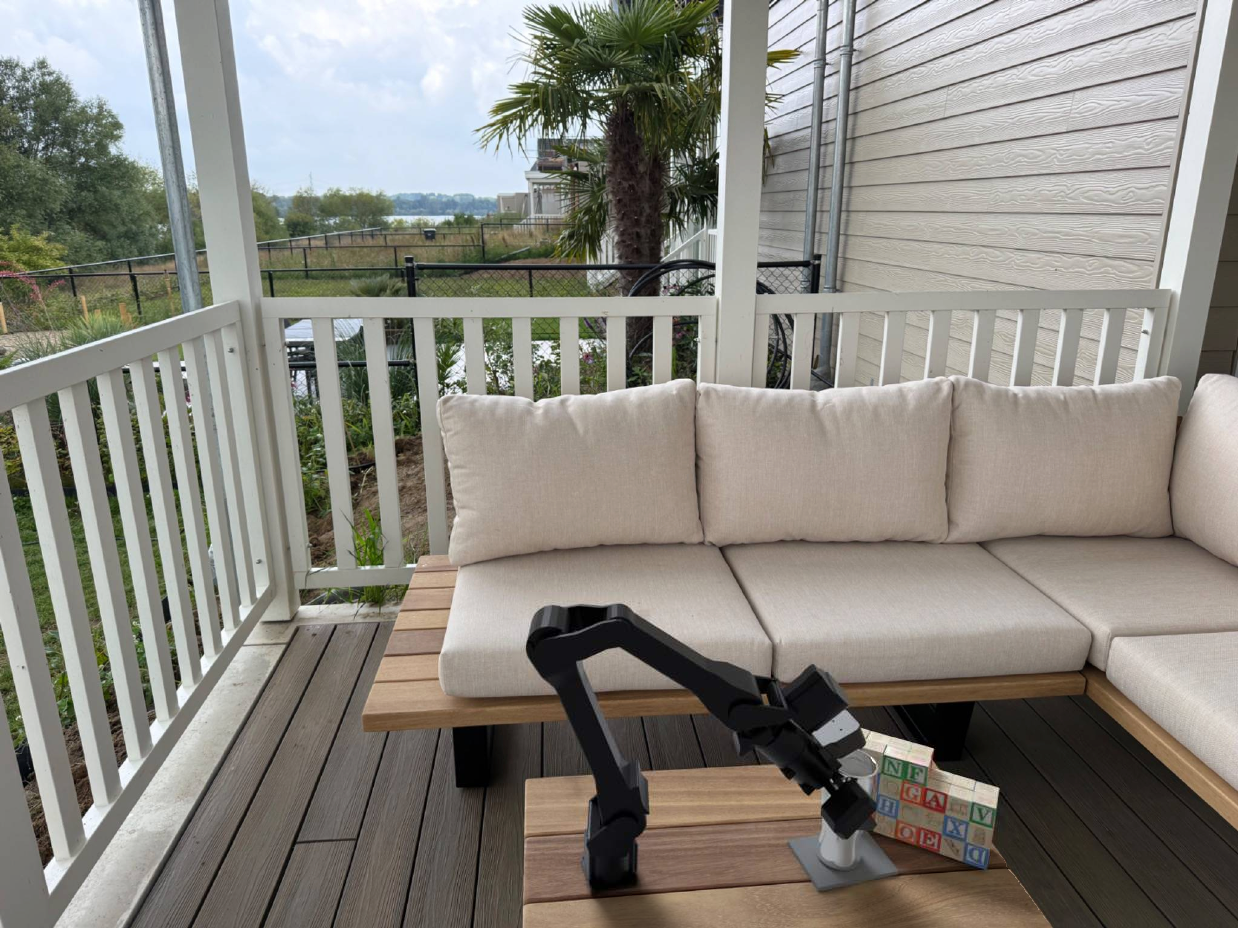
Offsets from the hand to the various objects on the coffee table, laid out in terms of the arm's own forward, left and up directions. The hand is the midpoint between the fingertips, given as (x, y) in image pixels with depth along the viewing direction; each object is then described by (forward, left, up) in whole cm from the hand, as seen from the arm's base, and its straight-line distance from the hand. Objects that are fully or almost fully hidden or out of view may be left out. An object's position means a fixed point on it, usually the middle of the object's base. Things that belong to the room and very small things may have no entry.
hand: (855, 804), depth 110 cm
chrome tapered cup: (-2, 0, -8) cm, 8 cm away
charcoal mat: (-1, 0, -9) cm, 9 cm away
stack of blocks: (+11, +2, -8) cm, 14 cm away
